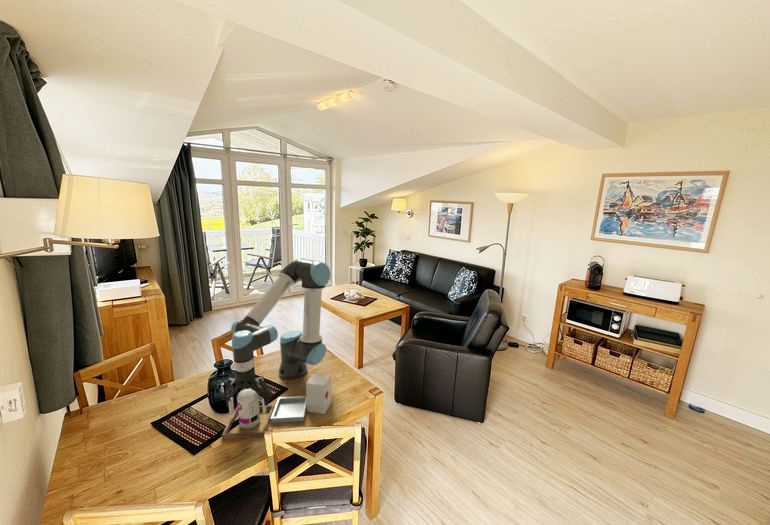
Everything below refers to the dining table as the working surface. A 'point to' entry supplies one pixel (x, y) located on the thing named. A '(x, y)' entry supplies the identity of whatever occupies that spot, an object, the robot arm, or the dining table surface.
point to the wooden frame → (247, 434)
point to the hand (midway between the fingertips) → (248, 412)
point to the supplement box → (318, 393)
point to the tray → (289, 409)
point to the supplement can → (248, 408)
